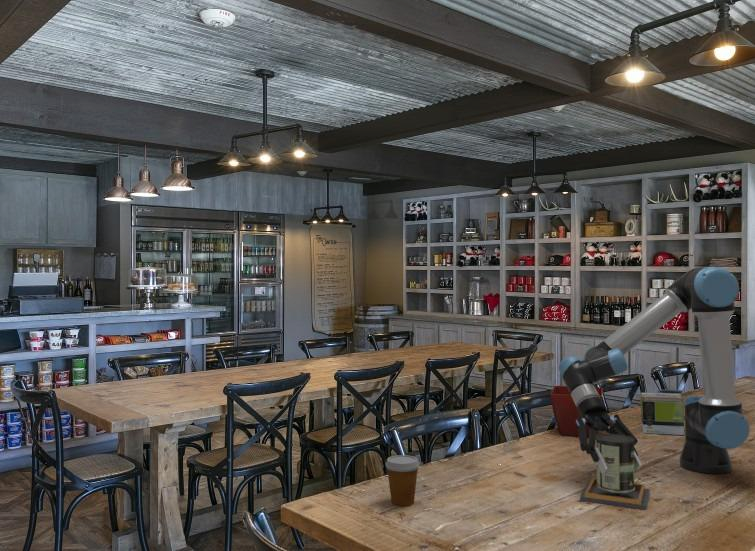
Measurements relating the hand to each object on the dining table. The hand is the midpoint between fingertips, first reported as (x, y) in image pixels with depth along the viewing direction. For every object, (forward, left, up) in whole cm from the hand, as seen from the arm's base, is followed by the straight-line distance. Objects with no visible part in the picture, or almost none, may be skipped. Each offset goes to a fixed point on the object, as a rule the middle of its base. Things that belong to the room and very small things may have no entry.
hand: (621, 469), depth 183 cm
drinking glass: (-8, -113, -9) cm, 114 cm away
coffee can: (+2, -2, -6) cm, 7 cm away
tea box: (-6, -88, -9) cm, 89 cm away
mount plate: (+2, -2, -9) cm, 9 cm away
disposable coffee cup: (+55, +27, -9) cm, 62 cm away
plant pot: (+24, -73, -9) cm, 77 cm away
